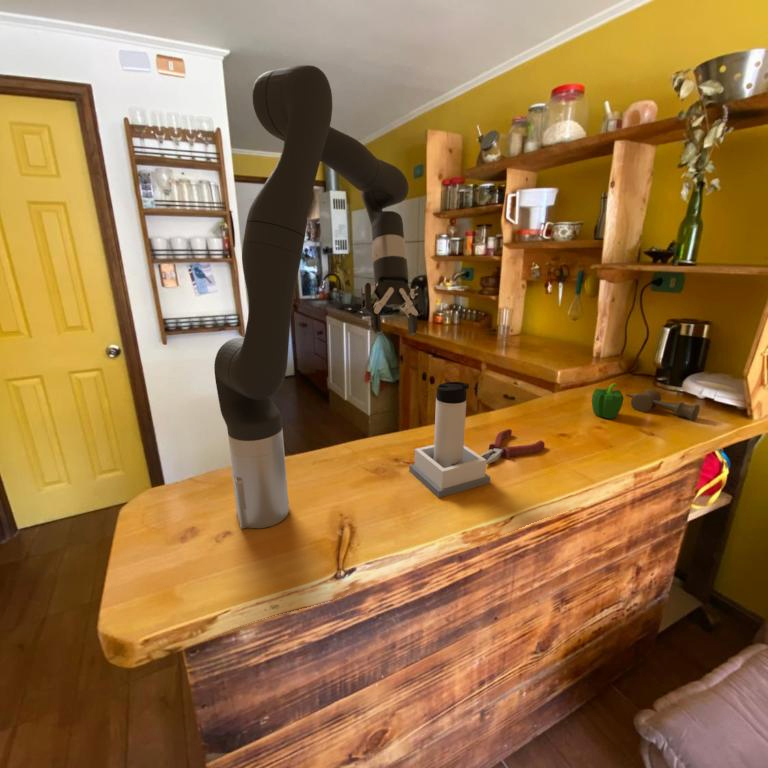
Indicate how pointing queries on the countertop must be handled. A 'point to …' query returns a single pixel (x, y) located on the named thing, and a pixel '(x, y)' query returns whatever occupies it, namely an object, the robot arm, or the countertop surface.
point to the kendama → (662, 404)
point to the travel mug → (450, 423)
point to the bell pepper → (607, 402)
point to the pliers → (509, 448)
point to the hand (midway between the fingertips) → (395, 333)
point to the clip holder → (449, 472)
